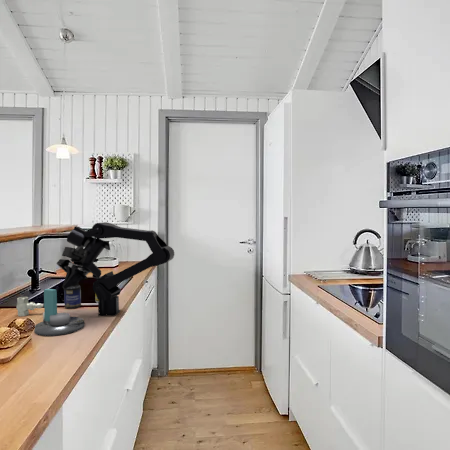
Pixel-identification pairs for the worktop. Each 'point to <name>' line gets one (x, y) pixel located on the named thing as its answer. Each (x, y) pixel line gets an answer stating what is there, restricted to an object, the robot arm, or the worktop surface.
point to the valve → (26, 306)
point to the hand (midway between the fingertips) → (63, 288)
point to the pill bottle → (72, 296)
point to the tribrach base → (59, 327)
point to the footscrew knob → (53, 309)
